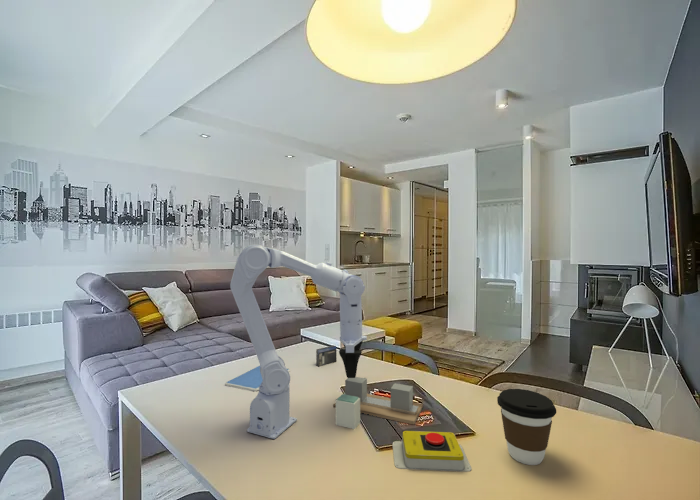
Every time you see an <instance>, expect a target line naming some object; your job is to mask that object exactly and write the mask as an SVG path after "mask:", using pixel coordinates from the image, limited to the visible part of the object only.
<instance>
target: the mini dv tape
mask: <svg viewBox="0 0 700 500" xmlns="http://www.w3.org/2000/svg"><path fill="white" fill-rule="evenodd" d="M315 356H316V357H315V359H316V364H315V365H316V366H317V367H319V368H320V367H324V366H327V365H329V364H330V365H331V364H334V363H337V346H336V345H335V344H334V345H329V346H326V347H322V348H317V349H316V352H315Z"/></svg>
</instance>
